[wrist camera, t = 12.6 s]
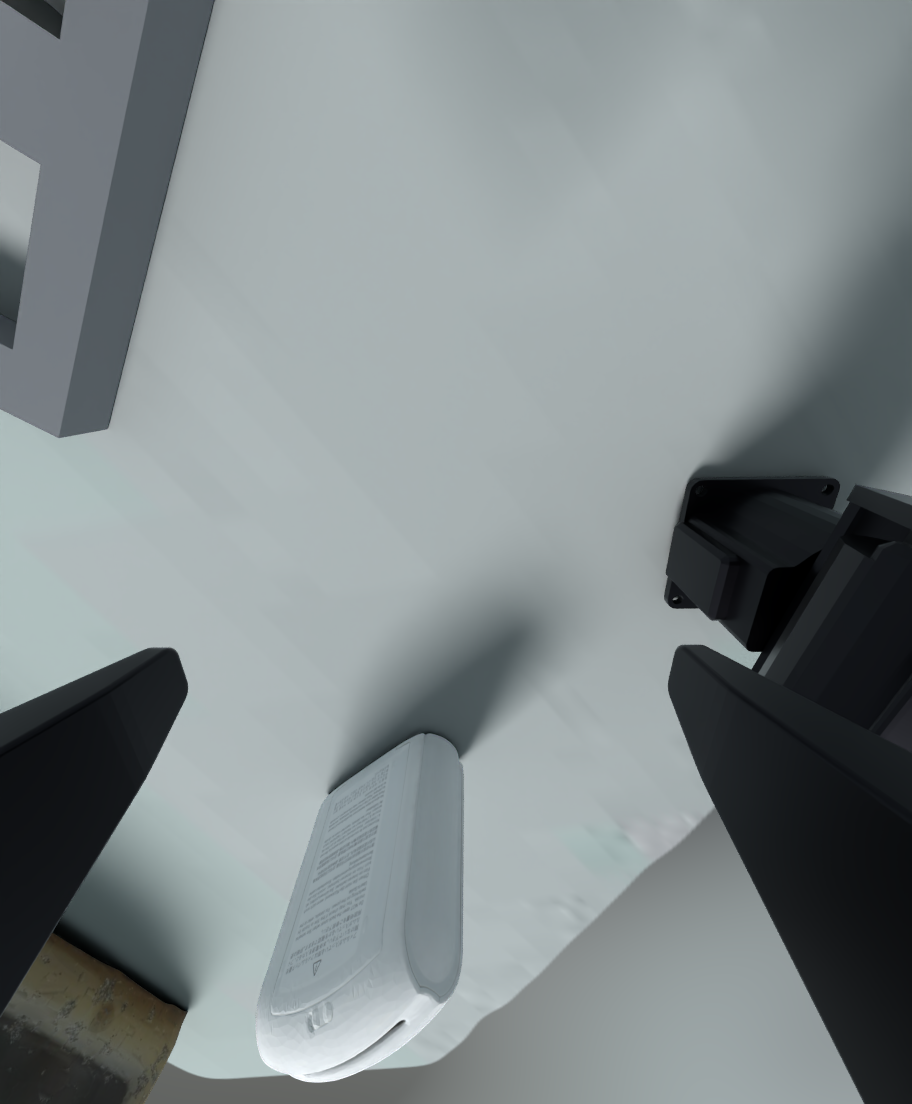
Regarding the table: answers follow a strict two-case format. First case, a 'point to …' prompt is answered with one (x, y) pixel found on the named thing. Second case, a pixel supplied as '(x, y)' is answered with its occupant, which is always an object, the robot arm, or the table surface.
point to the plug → (57, 5)
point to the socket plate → (89, 191)
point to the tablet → (82, 1033)
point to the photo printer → (370, 918)
